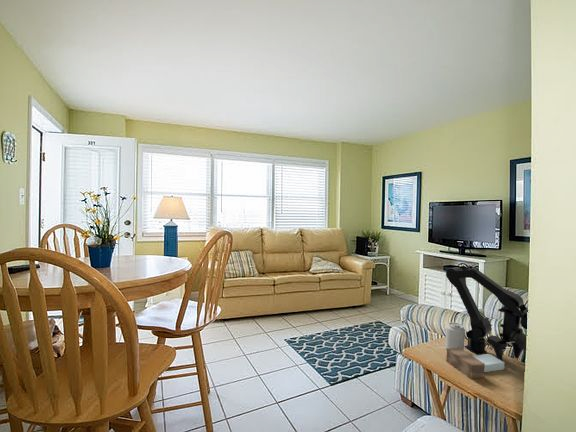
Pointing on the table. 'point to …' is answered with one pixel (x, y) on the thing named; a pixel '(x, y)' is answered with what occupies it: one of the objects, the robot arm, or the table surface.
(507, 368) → the table surface
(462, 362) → the wooden block
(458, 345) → the can
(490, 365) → the panel
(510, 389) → the table surface
